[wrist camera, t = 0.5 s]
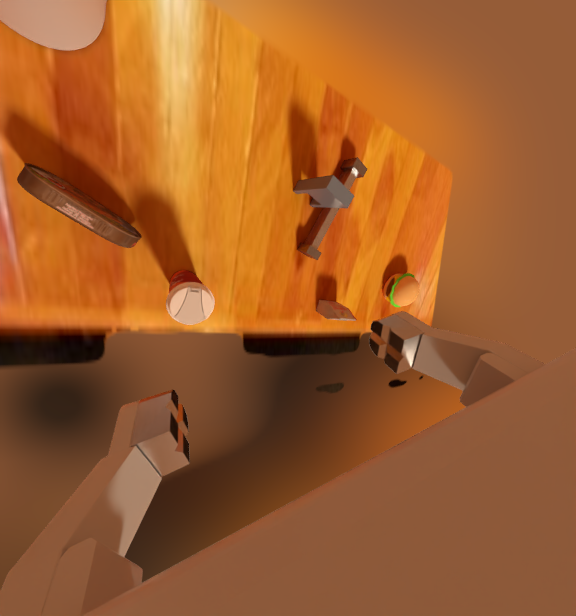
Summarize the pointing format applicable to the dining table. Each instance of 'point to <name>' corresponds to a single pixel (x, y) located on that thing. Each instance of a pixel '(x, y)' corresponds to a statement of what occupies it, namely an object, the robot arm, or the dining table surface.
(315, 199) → the clip
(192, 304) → the paper cup
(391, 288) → the hamburger
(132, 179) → the dining table surface
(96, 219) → the tin
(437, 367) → the robot arm
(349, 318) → the printed food carton
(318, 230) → the rail
